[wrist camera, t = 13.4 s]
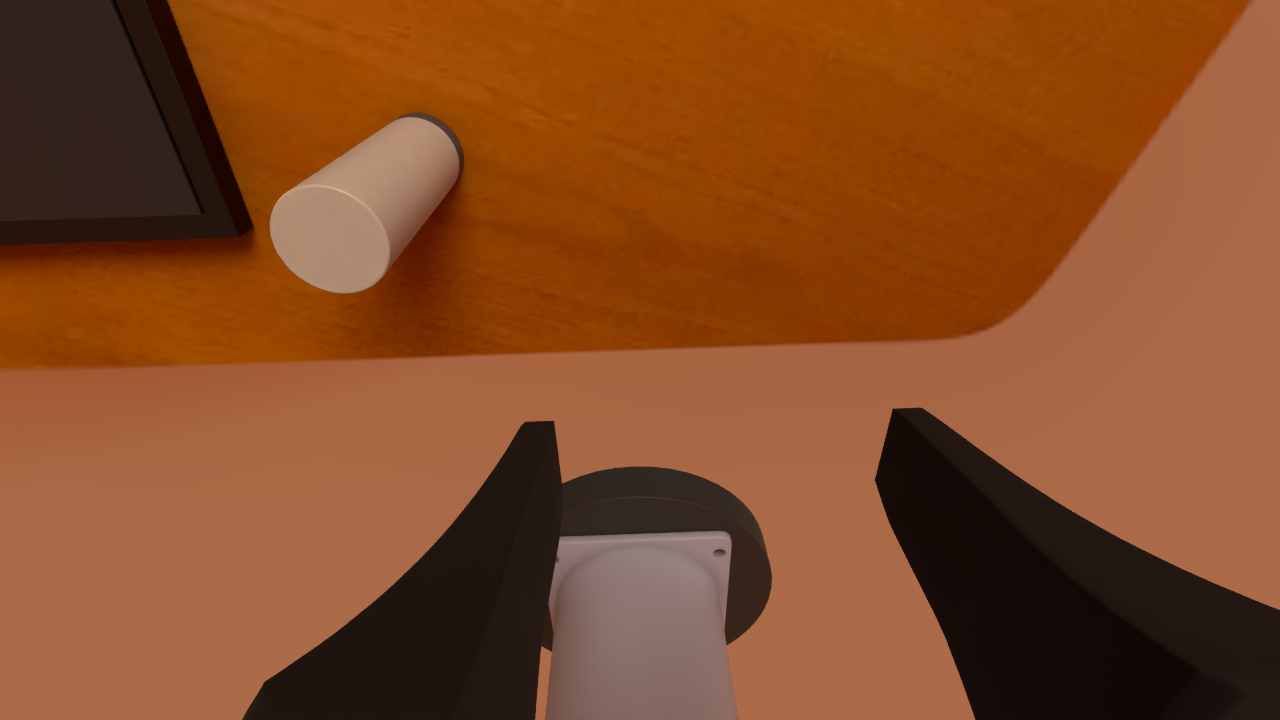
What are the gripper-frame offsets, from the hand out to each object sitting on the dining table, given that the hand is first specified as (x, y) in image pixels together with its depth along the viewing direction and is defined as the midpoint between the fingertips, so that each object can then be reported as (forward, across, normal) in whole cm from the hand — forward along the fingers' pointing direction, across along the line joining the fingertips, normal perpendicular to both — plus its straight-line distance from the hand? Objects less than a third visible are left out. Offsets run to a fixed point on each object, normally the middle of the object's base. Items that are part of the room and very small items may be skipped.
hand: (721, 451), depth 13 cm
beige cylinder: (+9, +8, -4) cm, 13 cm away
